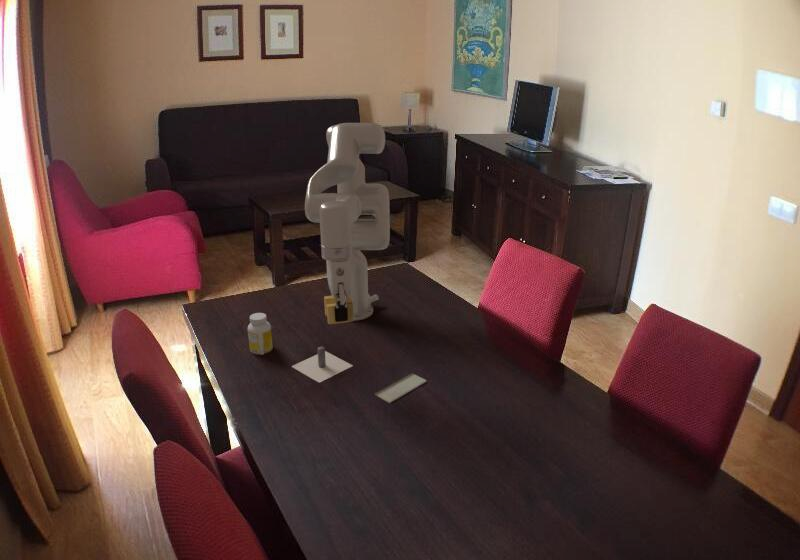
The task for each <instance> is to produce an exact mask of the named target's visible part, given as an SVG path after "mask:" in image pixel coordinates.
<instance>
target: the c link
mask: <svg viewBox="0 0 800 560" xmlns="http://www.w3.org/2000/svg"><path fill="white" fill-rule="evenodd" d="M337 296H339V295H337ZM323 298H324V300H323V302H324V314H325V315H324V316H325V317H327V324H328V325H334V324H335V325H336V324H343V323H345V324H346V323H351V322H352V323H354V318H353V303H352V300H351V298H350V296H347V294H346V302H347V312H348V320H347V321H342V322H336V321H335V307H336V305H335V298H334V297H333V296H332V295H325V296H324V297H323ZM337 300H338V301H340V298H337Z"/></svg>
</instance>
